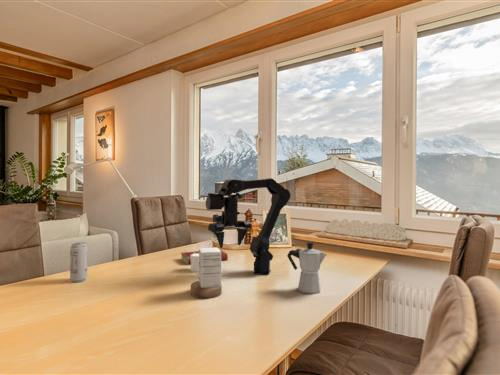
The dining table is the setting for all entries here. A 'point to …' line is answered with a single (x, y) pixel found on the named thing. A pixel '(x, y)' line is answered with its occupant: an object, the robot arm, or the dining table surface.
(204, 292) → the walnut pedestal
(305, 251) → the coffee maker
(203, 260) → the supplement box
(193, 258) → the shot glass
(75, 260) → the energy drink can
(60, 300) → the dining table surface
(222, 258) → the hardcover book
